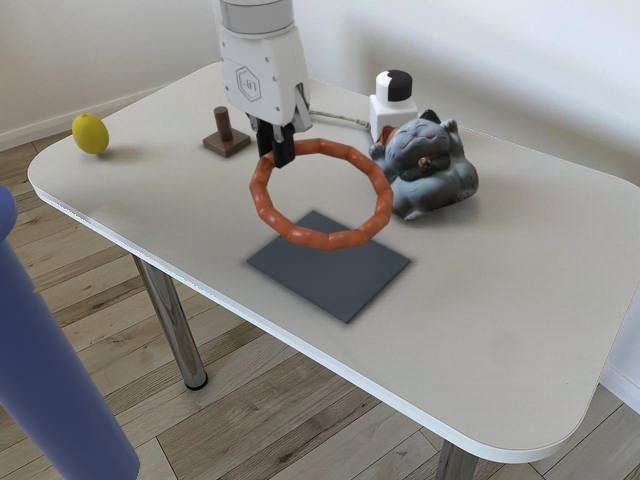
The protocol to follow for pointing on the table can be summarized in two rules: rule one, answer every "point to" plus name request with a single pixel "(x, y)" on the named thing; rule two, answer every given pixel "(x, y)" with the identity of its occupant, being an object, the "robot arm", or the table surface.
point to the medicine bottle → (391, 101)
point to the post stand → (225, 135)
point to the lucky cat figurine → (424, 165)
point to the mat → (330, 269)
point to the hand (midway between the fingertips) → (277, 159)
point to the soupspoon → (362, 123)
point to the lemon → (90, 134)
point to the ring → (311, 236)
